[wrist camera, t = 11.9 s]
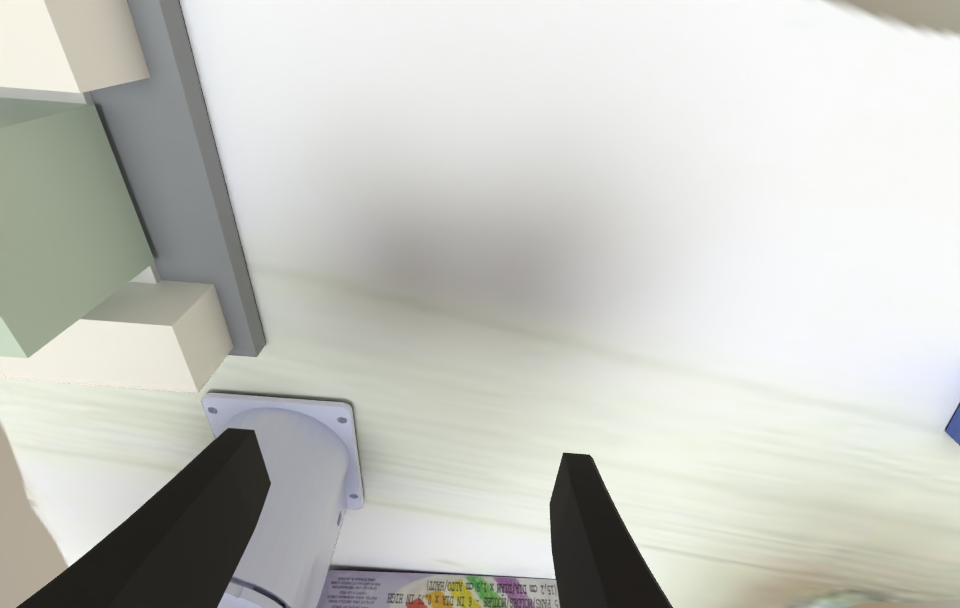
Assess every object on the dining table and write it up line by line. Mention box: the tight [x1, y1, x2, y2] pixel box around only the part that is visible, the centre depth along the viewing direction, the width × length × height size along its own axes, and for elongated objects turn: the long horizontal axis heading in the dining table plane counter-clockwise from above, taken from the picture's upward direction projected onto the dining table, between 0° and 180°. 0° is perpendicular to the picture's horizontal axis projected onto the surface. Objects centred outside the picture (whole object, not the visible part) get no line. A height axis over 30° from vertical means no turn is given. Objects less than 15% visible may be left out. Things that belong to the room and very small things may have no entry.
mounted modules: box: [0, 0, 233, 393], centre depth 16 cm, size 14×8×3 cm, turn 176°
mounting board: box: [0, 0, 266, 357], centre depth 18 cm, size 15×10×1 cm, turn 176°
